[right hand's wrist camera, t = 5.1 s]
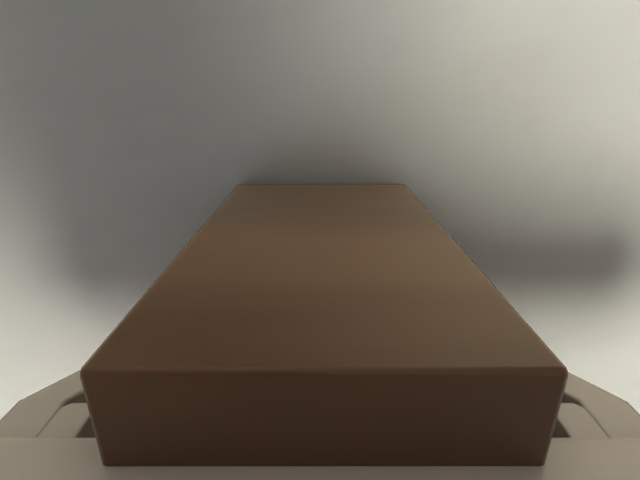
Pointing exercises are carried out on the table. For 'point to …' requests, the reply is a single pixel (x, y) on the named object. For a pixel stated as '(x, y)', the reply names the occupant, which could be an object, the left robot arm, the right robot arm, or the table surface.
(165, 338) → the bar
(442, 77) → the table surface
